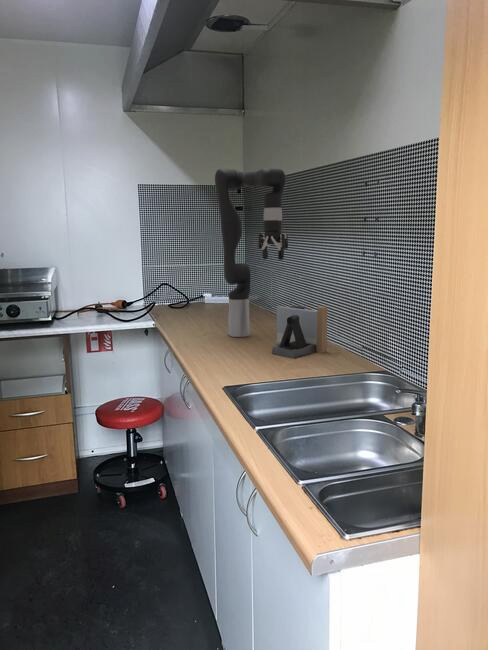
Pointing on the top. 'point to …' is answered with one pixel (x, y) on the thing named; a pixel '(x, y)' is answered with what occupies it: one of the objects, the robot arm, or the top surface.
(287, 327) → the door stopper
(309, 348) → the keeper
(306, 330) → the door
